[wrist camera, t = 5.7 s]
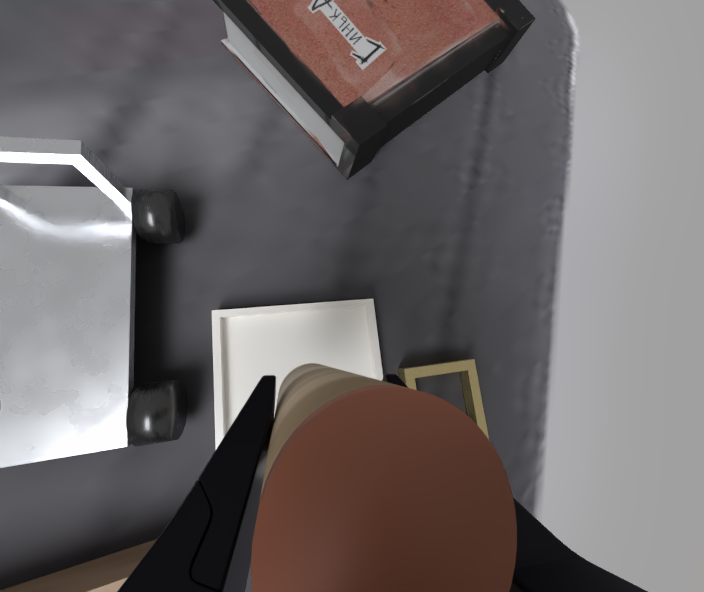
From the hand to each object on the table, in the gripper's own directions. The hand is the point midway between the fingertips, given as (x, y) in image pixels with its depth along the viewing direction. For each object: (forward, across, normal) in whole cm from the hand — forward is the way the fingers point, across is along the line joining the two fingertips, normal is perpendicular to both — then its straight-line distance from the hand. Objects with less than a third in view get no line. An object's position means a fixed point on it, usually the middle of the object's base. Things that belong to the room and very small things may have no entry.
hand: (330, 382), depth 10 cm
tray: (+8, 0, +10) cm, 13 cm away
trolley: (+12, +15, +7) cm, 20 cm away
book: (+32, -6, -13) cm, 35 cm away
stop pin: (+4, 0, +6) cm, 7 cm away
